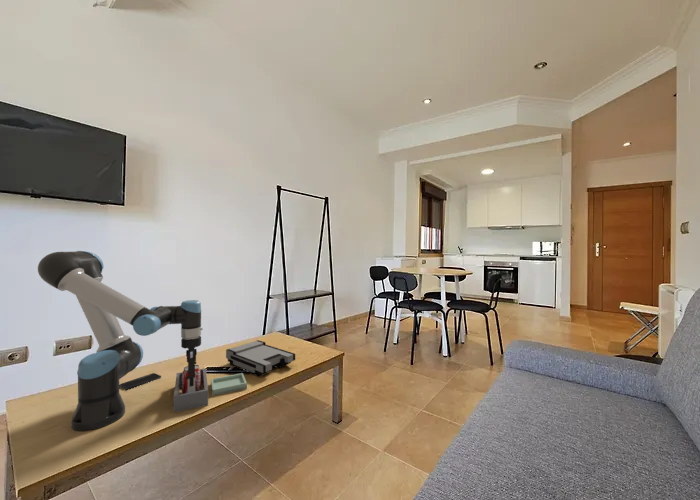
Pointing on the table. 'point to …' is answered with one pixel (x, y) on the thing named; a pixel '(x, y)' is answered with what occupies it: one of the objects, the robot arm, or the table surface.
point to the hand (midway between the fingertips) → (191, 386)
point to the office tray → (258, 357)
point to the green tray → (228, 384)
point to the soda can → (185, 381)
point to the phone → (139, 381)
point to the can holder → (190, 394)
